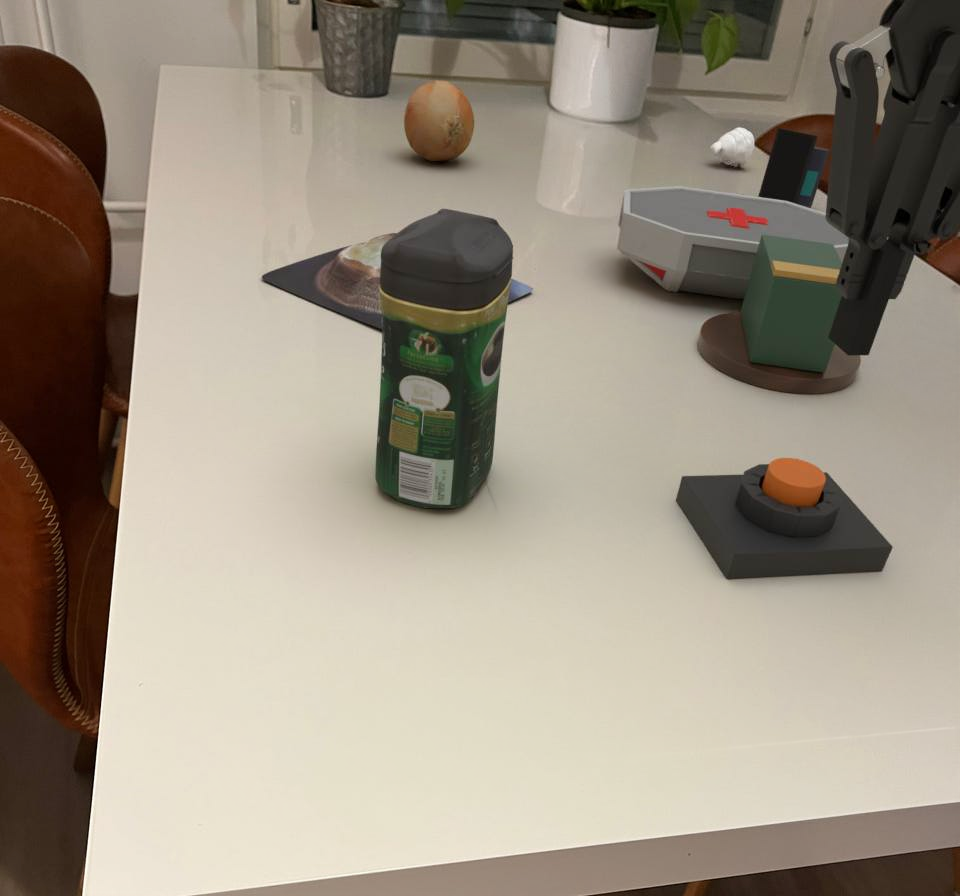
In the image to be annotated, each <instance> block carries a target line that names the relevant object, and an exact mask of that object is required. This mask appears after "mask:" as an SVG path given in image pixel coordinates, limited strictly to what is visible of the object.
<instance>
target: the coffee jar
mask: <svg viewBox="0 0 960 896" xmlns="http://www.w3.org/2000/svg"><path fill="white" fill-rule="evenodd" d="M396 233H397V234H395V235H394V236H393V237H392V238H391V239H390V240H389V241H388V242H386V243H385V244H384V245H383V247H382V250H381V268H380V285H379V294H380V302H381V312H382V329H381V356H380V358H381V359H380V361H381V362H380V364H381V365H380V383H379V384H380V385H379V404H378V405H379V406H378V420H377V421H378V422H377V433H376V448H375V449H376V451H375V452H376V453H375V471H374V472H375V474H374V475H375V476H374V478H375V482H376V484H377V486H378V487H379V489H380V490H382V492H384V493H385V494H387V495H389V496H391V497H393V498H394V499H395V500H397V501H399V502H402V503H404V504H408V505H410V506H413V507H419V508H424V509H451V508H454V509H455V508H459V507H461V506H463V505H465V504H466V503H467V502H468V501H470V500H471V499H472V498H473V496H474V495H475V494H476V493H477V492H478V491H479V489H480V488H481V487H482V485H483V484H484V482H485V481H486V479H487V478H488V475H489V473H490V471H491V468H492V466H493V460H494V459H493V458H494V452H495V451H494V450H495V449H494V448H495V438H496V424H497V411H498V401H499V400H498V399H499V389H500V386H499V385H500V377H501V369H502V368H501V367H502V357H503V356H502V355H503V347H504V337H505V329H506V320H507V312H508V306H509V303H508V299H509V292H510V285H511V279H512V276H513V259H514V245H513V242H512V239H511V237H510V235H509V234H508V233H507V232H506V230H505V229H504V228H503V227H502V226H501V225H500V223H499V222H498V220H497V219H495V218H494V217H489V216H484V215H481V214H474V213H471V212H470V213H469V212H465V211H459V210H454V209H449V208H441V209H439V210H438V211H437V212H436V213H433V214H430V215H427V216H425V217H422V218H420V219H418V220H416V221H413V222H412V223H410V224H408V225H406V226H405V227H404V228H402V229H401V230H399V231H398V232H396Z"/></svg>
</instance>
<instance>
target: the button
mask: <svg viewBox="0 0 960 896" xmlns="http://www.w3.org/2000/svg"><path fill="white" fill-rule="evenodd" d="M768 464H769V466H768V469H767V472H766V475H765V478H764V481H763V484H762V490H763V492H764V493H765V494H766V495H768V496H770V497H771V498H773V499H775V500H777V501H779V502H781V503H784V504H788V505H792V506H796V507H806V506H814V505H815V504H816V503H817V502H818V500H819V497H820V495H821V492H822V489H823V487H824V484H825V481H826V477H825V474H824V473H823V472H824V471H823V470H822V469H821V468H820V467H818V466H816V465H814V464H813V463H812V462H809V461H806V460H804V459H803V460H802V459H800V458H795V457H780V458H779V457H778V458H776V459H774V460H771V461H770V462H769V463H768Z"/></svg>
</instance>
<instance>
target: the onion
mask: <svg viewBox="0 0 960 896" xmlns="http://www.w3.org/2000/svg"><path fill="white" fill-rule="evenodd" d="M404 111H405V112H404V119H403V128H404V133H405V136H406V141H407V142H408V144H409V147H410V148H411V149H412V150H413V151H414V153H415V154H416V155H418V156H419V157H420V158H423V159H424V160H427V161H430V162H442V161H450V160H454V159H456V158H459V157H461V155H462V154H463V153H464V152H465V151H466V150H467V149H468V147H469V145H470V143H471V142H472V138H473V135H474V131H475V116H474V115H475V114H474V112H473V107H472V105H471V101H470V100H469V98H468V97H467V95H466V94H465V92H464V91H463V90H462V88H460V87H458V86H457V85H455V84H454V83H452V82H449V81H447V80H431V81H427V82H426V83H424V84H422V85H420V86H419V87H418V88H417V89H416V90H415V91H414V92H413V94H412V95H411V97H410V98H409V100H408V101H407V103H406V106H405V110H404Z"/></svg>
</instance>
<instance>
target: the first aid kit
mask: <svg viewBox="0 0 960 896" xmlns="http://www.w3.org/2000/svg"><path fill="white" fill-rule="evenodd" d="M617 226H618V227H619V234H618V240H617V245H616V249H617V250H618V251H619V252H620V253H621V254H622V255H624V257H626V258H627V259H628V260H630V261H631V262H632V263H633V264H635V266H637V267H638V268H639V269H640V270H641V271H642V272H644V273H645V274H646V275H647V276H649V277H650V278H651V279H652V280H653V281H655V282H656V283H657V284H658V285H659V286H660V287H662V288H663V289H664V290H665V291H666V290H667V291H666V292H671V291H673V292H672V293H678V292H679V291H680V292H685V293H694V294H701V295H708V296H716V297H721V298H728V299H729V298H730V299H736V300H743V301H744V298H745V294H746V290H747V287H748V283H749V279H750V276H751V272H752V268H753V265H754V261H755V257H756V253H757V250H758V246H759V242H760V239H761V235H769V236H777V237H784V238H791V239H798V240H806V241H813V242H820V243H828V244H833V245H834V247H835V249H836V251H837V254H838V256H839V258H840V260H841V262H843V259H844V256H845V253H846V250H847V246H848V242H849V238H848V237H847V236H845V235H844V234H843V233H841V232H840V231H839V230H837V229H836V228H834V227H833V226H832V225H830V224H829V223H828V222H827V221H826V212H823V211H821V210H817V209H814V208H812V207H811V208H808V207H805V206H801V205H798V204H795V203H792V202H789V201H784V200H777V199H769V198H762V197H758V196H755V195H746V194H741V193H740V194H739V193H732V192H725V191H719V190H717V191H716V190H709V189H703V188H695V187H688V186H681V185H675V186H657V187H656V186H655V187H642V188H640V187H639V188H625V189H624V191H623V195H622V202H621V207H620V211H619V218H618V223H617Z"/></svg>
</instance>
